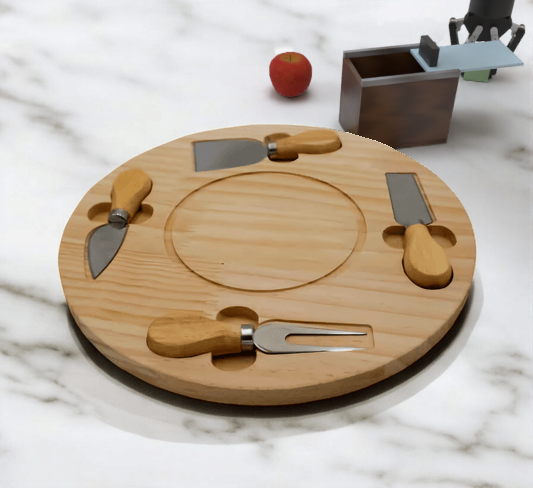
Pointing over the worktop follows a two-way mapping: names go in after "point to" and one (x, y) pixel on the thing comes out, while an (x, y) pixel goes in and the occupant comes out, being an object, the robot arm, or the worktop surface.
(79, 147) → the worktop surface
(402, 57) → the case
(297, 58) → the apple
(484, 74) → the block
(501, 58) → the pane
